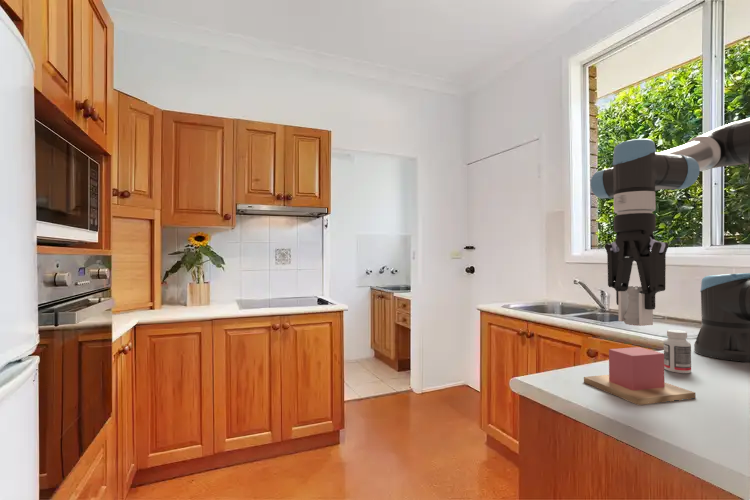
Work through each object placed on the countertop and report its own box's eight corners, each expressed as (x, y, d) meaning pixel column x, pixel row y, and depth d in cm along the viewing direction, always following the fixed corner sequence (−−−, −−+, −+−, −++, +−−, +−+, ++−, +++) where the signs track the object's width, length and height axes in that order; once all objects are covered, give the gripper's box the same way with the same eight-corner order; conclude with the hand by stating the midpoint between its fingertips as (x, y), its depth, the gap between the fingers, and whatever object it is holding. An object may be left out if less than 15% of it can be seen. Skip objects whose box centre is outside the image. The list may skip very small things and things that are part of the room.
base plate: (634, 377, 93) (634, 372, 93) (695, 398, 79) (695, 392, 79) (583, 382, 90) (583, 376, 90) (638, 405, 76) (638, 398, 76)
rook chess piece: (652, 326, 82) (651, 287, 82) (628, 325, 83) (628, 287, 83) (642, 322, 86) (641, 285, 87) (619, 322, 87) (619, 285, 87)
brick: (639, 378, 88) (638, 347, 88) (664, 387, 83) (664, 353, 83) (609, 381, 87) (608, 349, 87) (632, 390, 81) (632, 356, 81)
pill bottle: (694, 371, 98) (693, 331, 98) (687, 375, 95) (686, 334, 95) (668, 366, 102) (668, 328, 102) (660, 370, 99) (659, 330, 99)
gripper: (588, 217, 93) (589, 317, 92) (657, 208, 76) (659, 331, 75) (615, 217, 94) (616, 316, 94) (688, 209, 77) (690, 329, 77)
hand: (635, 322), depth 85 cm, fingers closed on rook chess piece, 4 cm apart
